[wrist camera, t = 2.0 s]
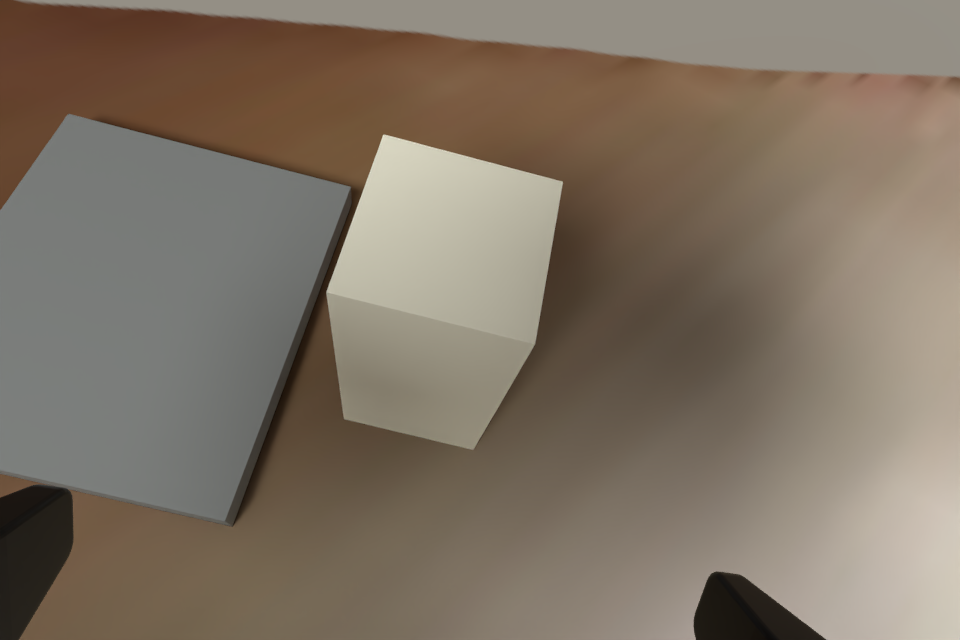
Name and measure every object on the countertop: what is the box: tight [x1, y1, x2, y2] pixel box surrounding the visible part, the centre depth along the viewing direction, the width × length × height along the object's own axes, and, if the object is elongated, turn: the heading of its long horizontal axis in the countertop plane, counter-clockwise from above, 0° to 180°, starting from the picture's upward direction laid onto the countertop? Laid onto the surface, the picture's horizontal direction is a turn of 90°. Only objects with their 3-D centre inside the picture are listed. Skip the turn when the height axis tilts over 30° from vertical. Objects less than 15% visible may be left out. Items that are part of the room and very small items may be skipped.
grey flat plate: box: [0, 114, 352, 526], centre depth 23 cm, size 12×14×1 cm
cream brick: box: [326, 135, 563, 450], centre depth 20 cm, size 5×5×10 cm
